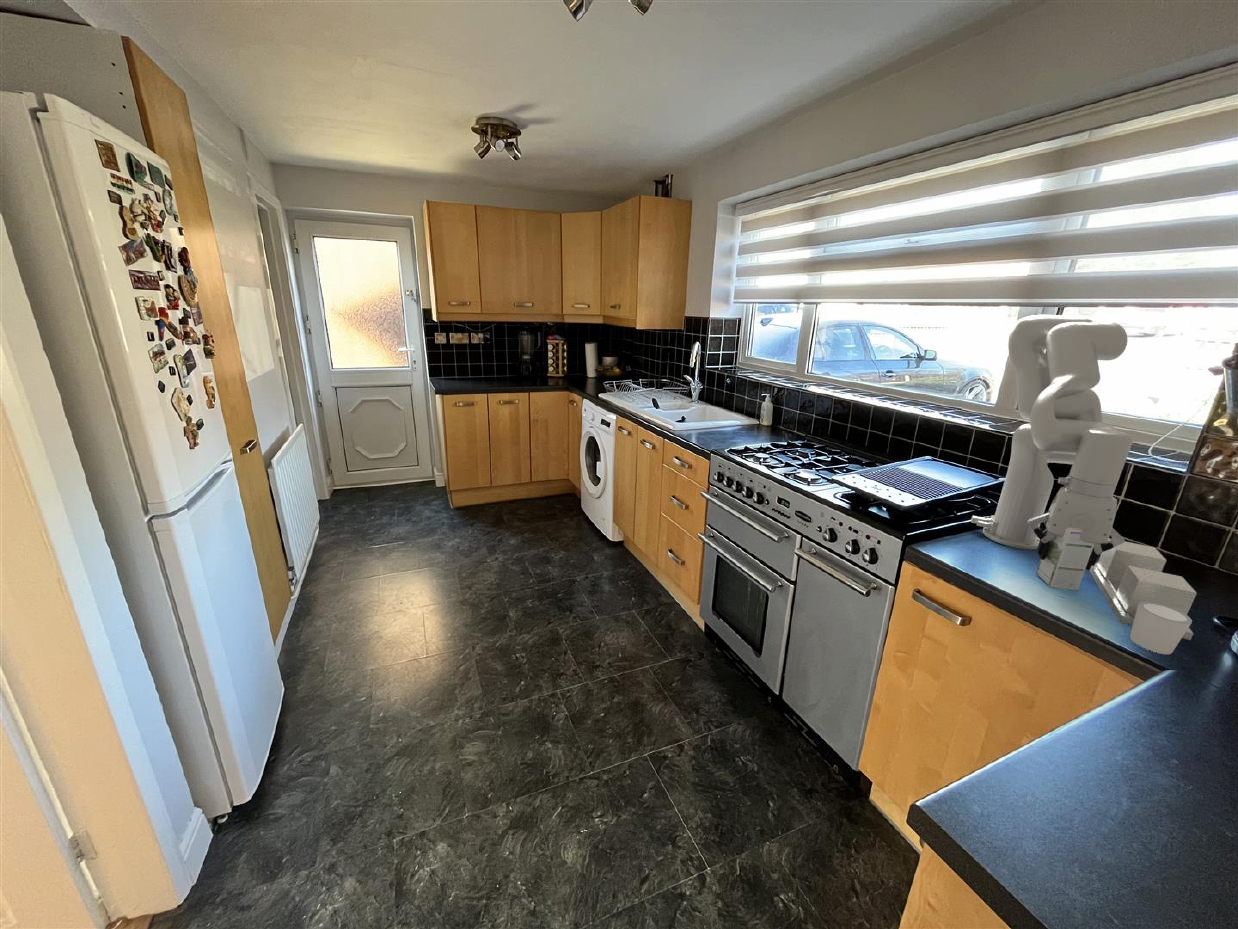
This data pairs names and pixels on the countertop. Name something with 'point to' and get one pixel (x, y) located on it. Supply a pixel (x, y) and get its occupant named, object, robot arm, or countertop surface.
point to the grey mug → (1158, 627)
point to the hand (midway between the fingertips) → (1063, 561)
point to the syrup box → (1065, 560)
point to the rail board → (1139, 581)
